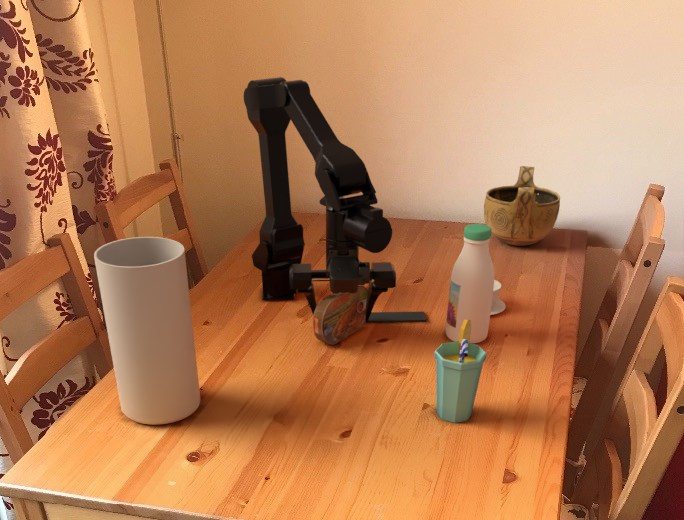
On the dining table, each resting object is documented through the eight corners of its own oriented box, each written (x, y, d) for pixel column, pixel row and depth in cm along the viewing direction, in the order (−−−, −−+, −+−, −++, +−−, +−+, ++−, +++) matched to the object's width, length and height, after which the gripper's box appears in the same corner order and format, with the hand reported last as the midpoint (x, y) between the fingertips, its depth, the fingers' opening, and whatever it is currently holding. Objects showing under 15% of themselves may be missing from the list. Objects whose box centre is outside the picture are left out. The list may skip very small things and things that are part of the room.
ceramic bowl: (553, 260, 178) (565, 191, 169) (477, 255, 181) (484, 187, 172) (552, 229, 195) (563, 165, 187) (482, 224, 198) (490, 161, 190)
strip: (363, 322, 152) (363, 320, 151) (362, 314, 155) (362, 312, 155) (426, 321, 152) (426, 319, 152) (423, 313, 155) (423, 311, 155)
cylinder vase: (114, 396, 129) (86, 243, 114) (188, 381, 133) (171, 232, 118) (131, 433, 120) (103, 273, 105) (210, 416, 124) (194, 259, 109)
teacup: (474, 293, 163) (477, 271, 160) (515, 307, 157) (518, 284, 155) (444, 307, 157) (446, 284, 155) (485, 321, 152) (488, 298, 149)
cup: (481, 442, 117) (494, 349, 109) (429, 439, 118) (437, 347, 109) (477, 396, 129) (488, 308, 120) (429, 393, 129) (436, 306, 120)
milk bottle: (492, 331, 148) (506, 223, 136) (480, 348, 143) (494, 236, 131) (452, 324, 151) (462, 217, 139) (439, 340, 145) (449, 230, 134)
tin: (323, 351, 142) (323, 306, 137) (310, 346, 144) (309, 302, 139) (371, 323, 152) (372, 280, 147) (357, 319, 153) (358, 276, 148)
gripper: (288, 253, 130) (290, 340, 139) (401, 251, 130) (396, 338, 140) (288, 231, 139) (290, 314, 148) (394, 229, 139) (390, 313, 149)
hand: (341, 320), depth 146 cm, fingers open, 9 cm apart
